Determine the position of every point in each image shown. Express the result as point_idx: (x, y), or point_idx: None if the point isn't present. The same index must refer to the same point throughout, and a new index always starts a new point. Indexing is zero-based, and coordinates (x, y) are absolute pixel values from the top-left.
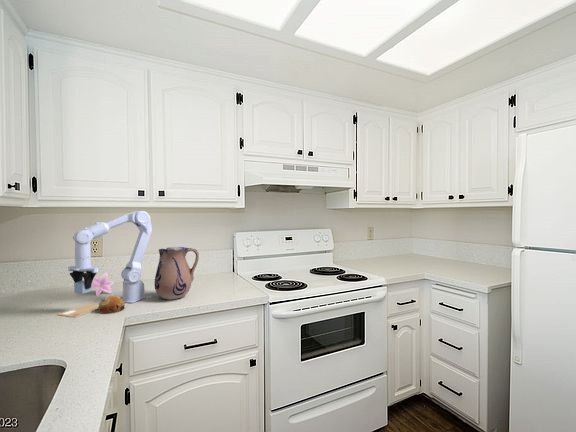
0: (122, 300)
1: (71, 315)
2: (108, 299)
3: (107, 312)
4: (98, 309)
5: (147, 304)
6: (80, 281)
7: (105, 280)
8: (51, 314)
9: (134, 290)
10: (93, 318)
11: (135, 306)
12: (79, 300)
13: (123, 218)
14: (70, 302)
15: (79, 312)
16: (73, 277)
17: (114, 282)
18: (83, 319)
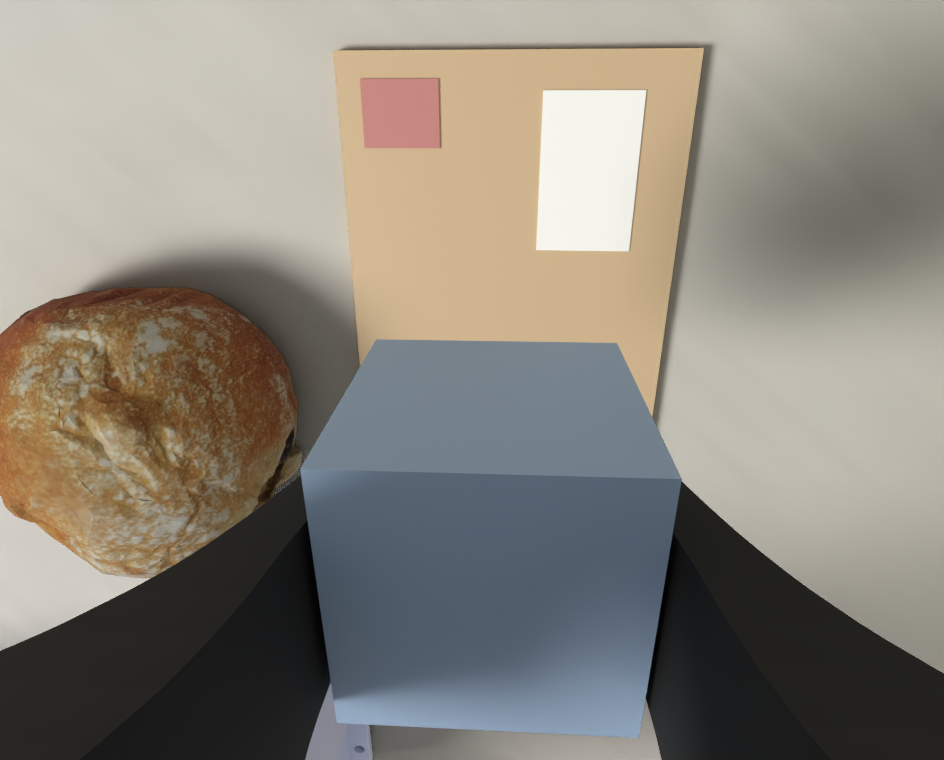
0: (39, 524)
1: (439, 72)
2: (35, 419)
3: (83, 293)
4: (230, 315)
5: (9, 607)
6: (597, 627)
7: None
8: (822, 51)
9: None
10: (69, 91)
11: (55, 542)
12: (875, 585)
13: None
14: (939, 512)
15: (444, 210)
16: (839, 667)
17: None
18: (152, 14)
